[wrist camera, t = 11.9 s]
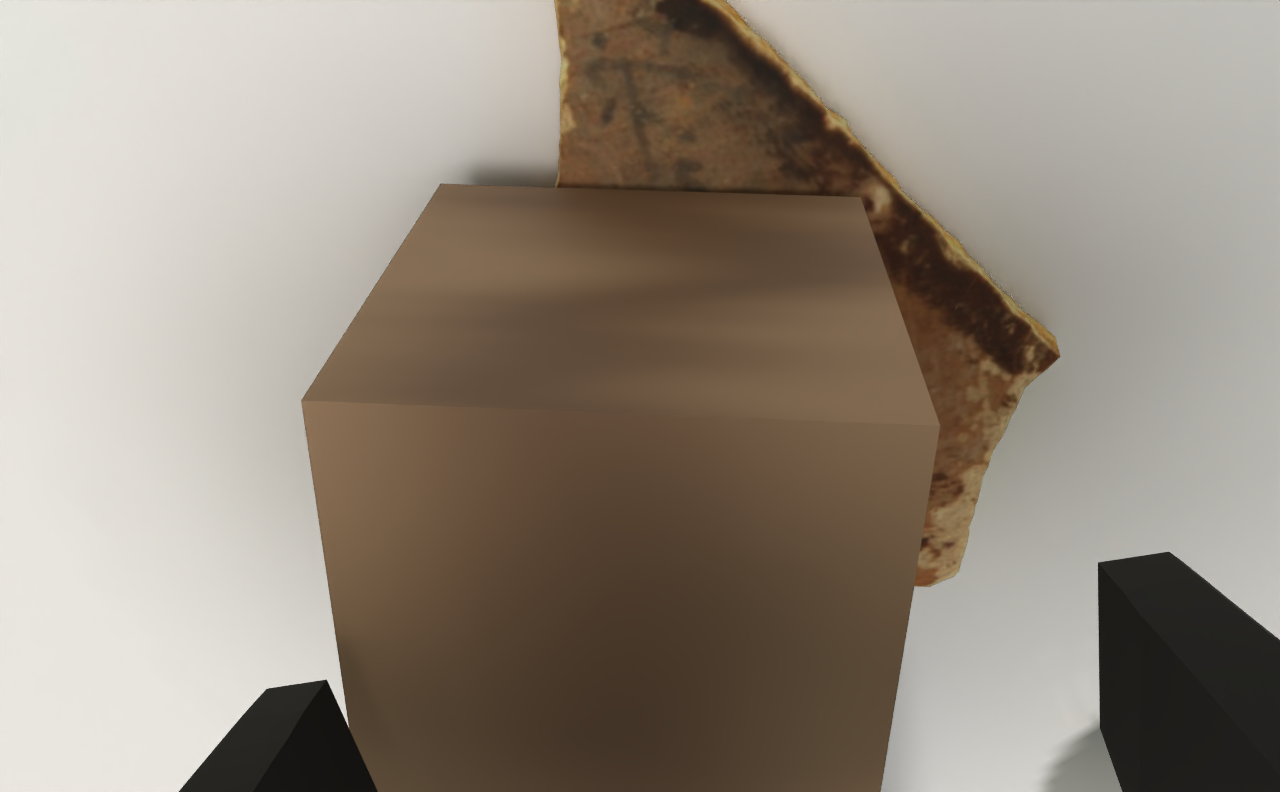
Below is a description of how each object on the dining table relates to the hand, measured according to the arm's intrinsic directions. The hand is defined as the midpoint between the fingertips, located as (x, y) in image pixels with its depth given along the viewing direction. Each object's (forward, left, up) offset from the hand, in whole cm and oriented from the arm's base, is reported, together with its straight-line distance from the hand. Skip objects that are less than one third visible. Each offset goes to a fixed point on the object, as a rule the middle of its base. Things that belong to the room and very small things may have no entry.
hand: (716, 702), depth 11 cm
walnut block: (+1, 0, -7) cm, 7 cm away
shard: (0, 0, -9) cm, 9 cm away
